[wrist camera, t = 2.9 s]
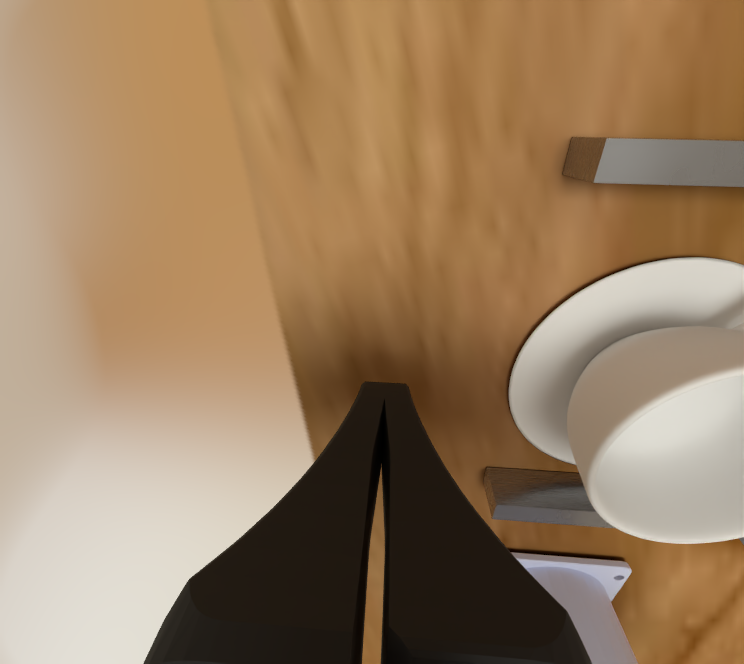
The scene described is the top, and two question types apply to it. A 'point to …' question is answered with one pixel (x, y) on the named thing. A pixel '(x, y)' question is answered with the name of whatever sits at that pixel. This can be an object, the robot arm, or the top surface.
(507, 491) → the slot rails
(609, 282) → the teacup
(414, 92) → the top surface
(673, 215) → the top surface
